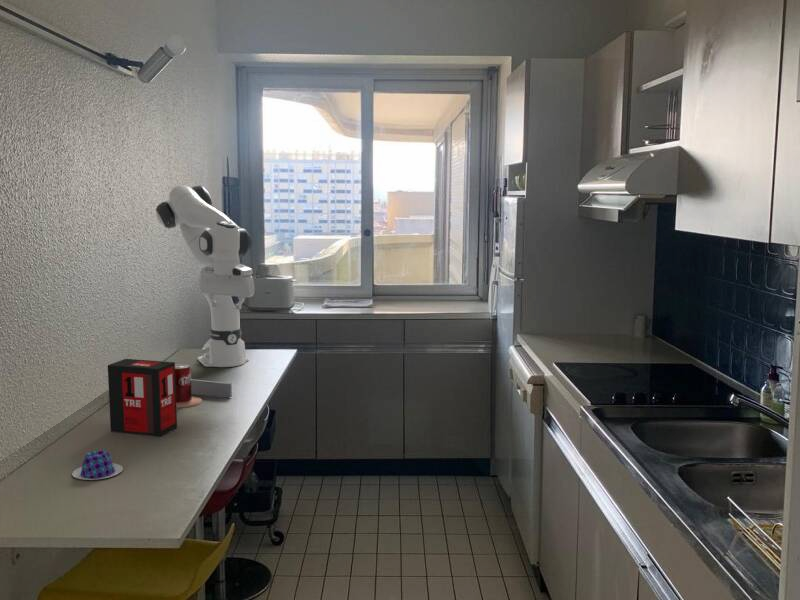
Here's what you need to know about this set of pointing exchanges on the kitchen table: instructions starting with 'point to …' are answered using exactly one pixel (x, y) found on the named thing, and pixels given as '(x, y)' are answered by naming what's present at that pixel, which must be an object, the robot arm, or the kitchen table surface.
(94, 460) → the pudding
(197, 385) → the acrylic wall
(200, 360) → the robot arm
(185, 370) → the soda can
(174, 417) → the cleaning product box
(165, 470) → the kitchen table surface
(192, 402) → the terracotta mat
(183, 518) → the kitchen table surface
